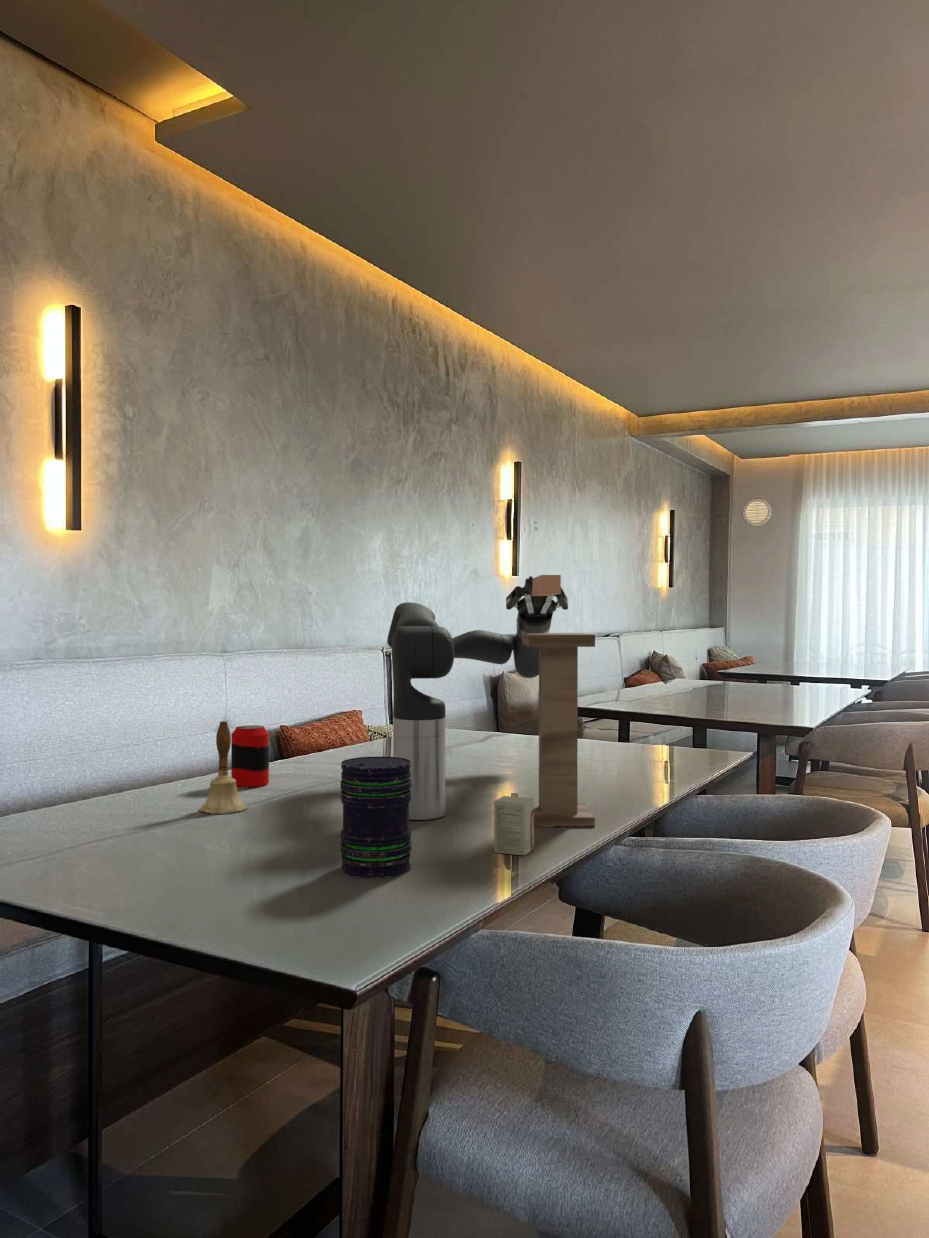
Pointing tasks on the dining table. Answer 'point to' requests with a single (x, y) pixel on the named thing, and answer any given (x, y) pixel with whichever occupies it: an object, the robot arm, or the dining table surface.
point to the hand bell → (223, 780)
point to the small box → (514, 825)
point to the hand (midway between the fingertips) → (540, 580)
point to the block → (546, 585)
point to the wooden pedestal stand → (559, 729)
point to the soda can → (250, 756)
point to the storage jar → (375, 817)
